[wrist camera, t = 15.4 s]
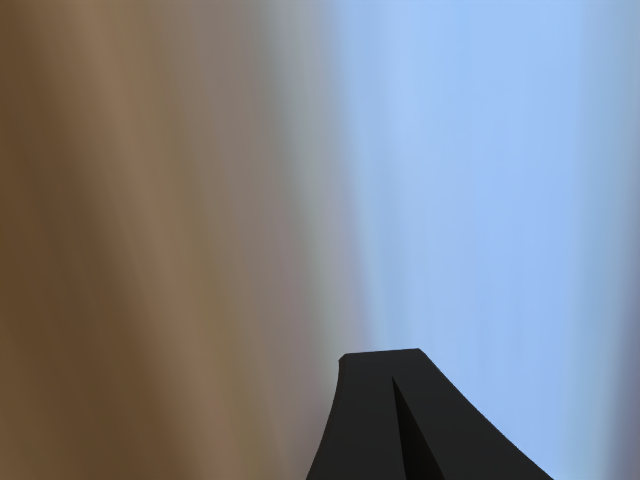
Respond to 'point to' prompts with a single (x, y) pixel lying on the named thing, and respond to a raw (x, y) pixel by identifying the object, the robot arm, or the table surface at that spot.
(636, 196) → the table surface
